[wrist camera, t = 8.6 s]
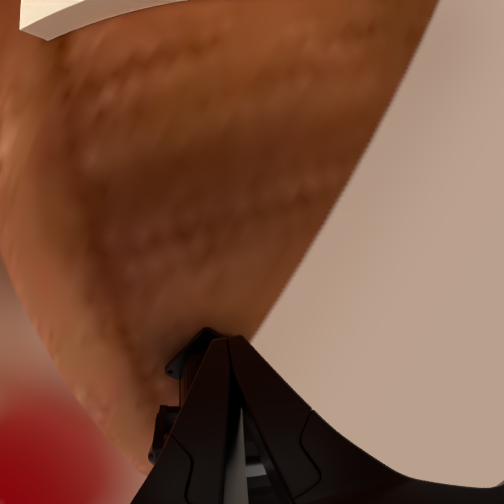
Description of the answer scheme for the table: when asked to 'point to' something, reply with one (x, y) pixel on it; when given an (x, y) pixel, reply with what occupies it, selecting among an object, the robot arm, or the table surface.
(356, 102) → the table surface
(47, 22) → the switch box
